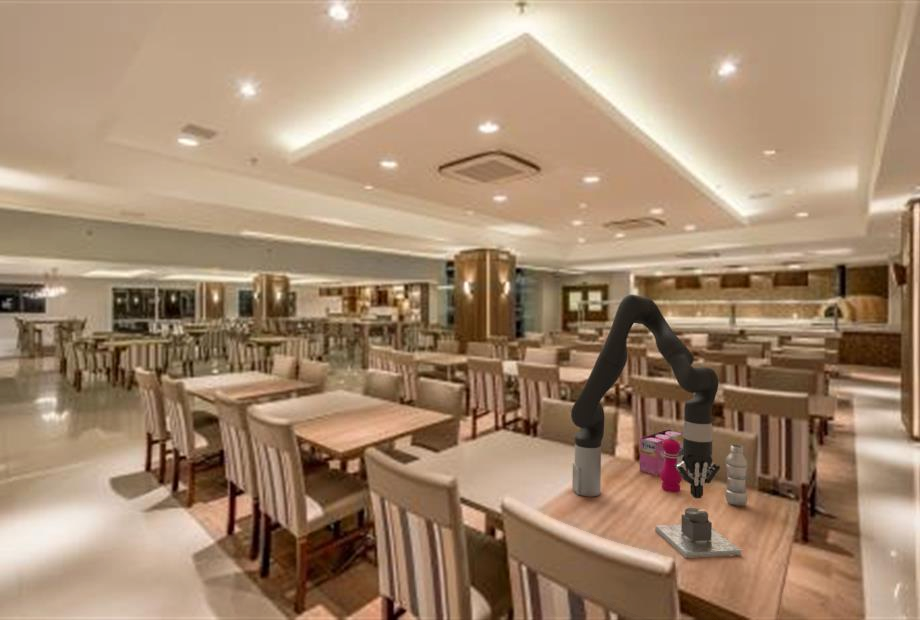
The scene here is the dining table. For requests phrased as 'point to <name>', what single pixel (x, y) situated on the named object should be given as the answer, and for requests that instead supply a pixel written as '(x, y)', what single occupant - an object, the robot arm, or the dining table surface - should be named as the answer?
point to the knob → (696, 525)
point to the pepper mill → (670, 466)
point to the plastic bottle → (736, 476)
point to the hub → (697, 543)
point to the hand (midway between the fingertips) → (696, 497)
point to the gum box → (657, 451)
